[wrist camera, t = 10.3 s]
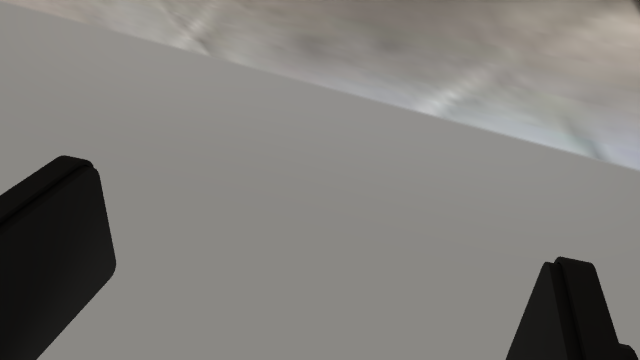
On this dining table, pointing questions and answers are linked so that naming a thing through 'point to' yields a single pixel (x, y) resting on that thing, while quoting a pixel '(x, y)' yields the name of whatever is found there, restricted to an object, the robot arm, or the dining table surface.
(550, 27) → the dining table surface
